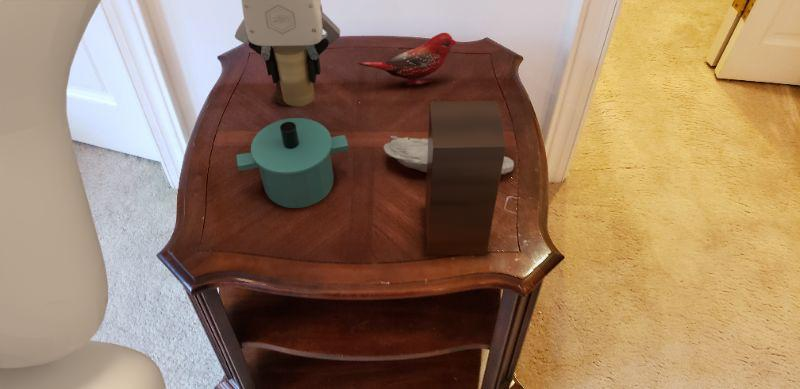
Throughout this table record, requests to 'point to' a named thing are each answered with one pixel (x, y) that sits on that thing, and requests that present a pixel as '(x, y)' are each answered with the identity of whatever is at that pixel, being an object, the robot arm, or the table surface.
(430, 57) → the decorative bird figurine
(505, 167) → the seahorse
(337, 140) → the pot
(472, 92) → the table surface
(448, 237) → the pedestal
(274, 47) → the cylinder
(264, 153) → the pot lid
